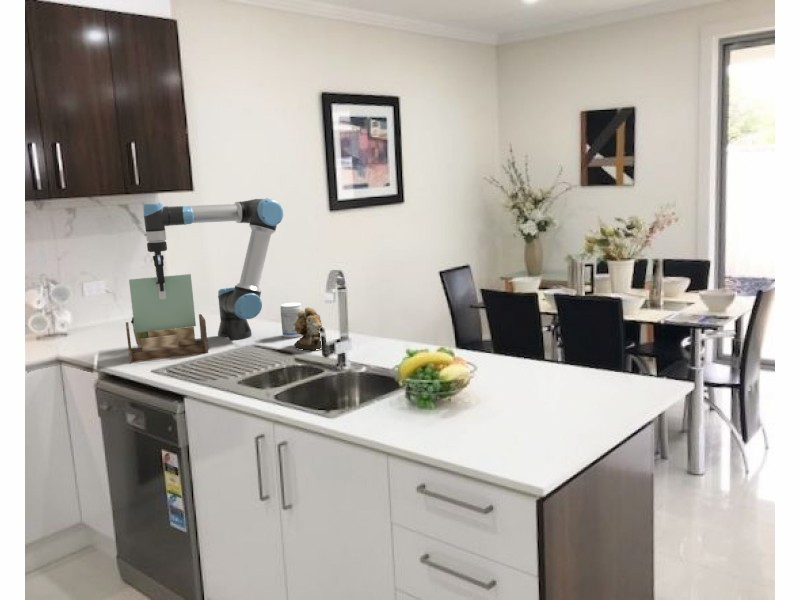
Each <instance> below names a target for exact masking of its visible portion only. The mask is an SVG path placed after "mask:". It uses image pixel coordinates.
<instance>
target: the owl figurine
mask: <svg viewBox="0 0 800 600" xmlns="http://www.w3.org/2000/svg"><path fill="white" fill-rule="evenodd" d="M297 316H298V319H297V320H296V321H297V322H296V323H295V330H296V331H297V333H298V334H301V335H302V336H301V337H300V338H299V340H296V342H295V343H294V346H295V347H294V346H293V347H294V348H295V349H296V348H298V349H297V350H299V349H303V350H302V351H304V350H312V351H313V350H316V349H320V348H321V341H322V340H321V337H320V333H319V328H322V329H323V326H322V319H321V315H320V314H318V312H317V310H315V309H314V308H313V307H310V306H307V307H305V308H304V310H302V311H300V312H298V314H297ZM320 340H321V341H320Z"/></svg>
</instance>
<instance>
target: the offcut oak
mask: <svg viewBox="0 0 800 600" xmlns="http://www.w3.org/2000/svg"><path fill="white" fill-rule="evenodd" d="M169 335H177V336H178V346H180V345H188V344H195V341H196V337H195V336H196V335H195V326H192V327H184V328H175V329H167V330H158V331H150V332H148V337H149V338H152V337H161V336H169Z"/></svg>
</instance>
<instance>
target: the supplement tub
mask: <svg viewBox="0 0 800 600" xmlns="http://www.w3.org/2000/svg"><path fill="white" fill-rule="evenodd" d="M279 310H280V319H281V331H282V337H283V338H286V337H287V338H292V339H294V337H295V338H299V337H300V338H301V337H303V335H301V334H298V333H297V331H296V330H295V323H296V322H297V321H296V320H297V319H298V316H297V314H298V312H300V311H303V309H302V304H301V302H286V303H282V304H280V309H279Z"/></svg>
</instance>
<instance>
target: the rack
mask: <svg viewBox="0 0 800 600" xmlns="http://www.w3.org/2000/svg"><path fill="white" fill-rule="evenodd" d="M198 320H199V332H200V339H198V340H196V339H195V344H188V345H180V346H179V347H176V348H168V349H160V350H152V351H144V352H142V347H139V348H138V347H133V348H132V344H131V335H130V325H129V322H128V321H126V322H125V329H126V338H127V346H128V356H129V362H130V364H135V363H143V362H151V361H157V360H158V361H159V360H165V359H166V360H167V359H175V358H182V357H190V356H195V355H206V354H209V346H208V345H209V344H208V337H207V336H208V335H207V325H206V323H207V322H206V319H205V317H204V316H203V315H202V314H198Z"/></svg>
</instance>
